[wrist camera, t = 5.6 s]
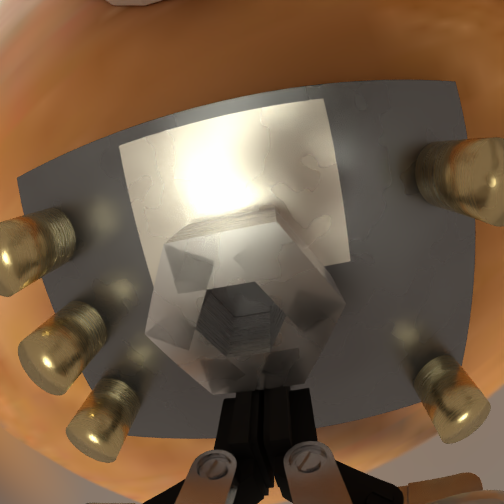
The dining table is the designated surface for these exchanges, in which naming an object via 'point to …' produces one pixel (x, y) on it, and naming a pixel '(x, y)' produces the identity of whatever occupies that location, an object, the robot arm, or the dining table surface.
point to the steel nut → (247, 327)
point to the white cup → (131, 2)
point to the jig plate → (250, 294)
